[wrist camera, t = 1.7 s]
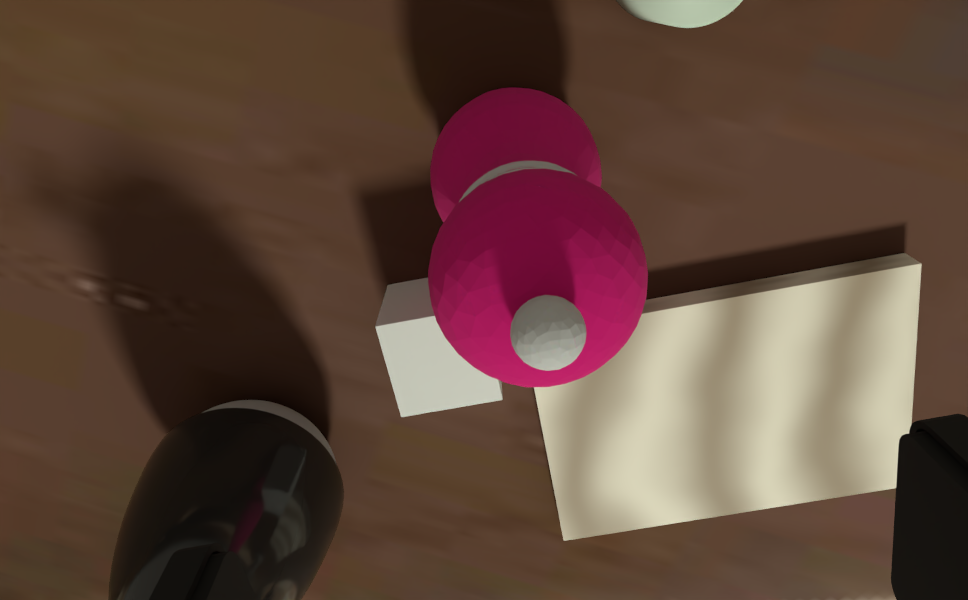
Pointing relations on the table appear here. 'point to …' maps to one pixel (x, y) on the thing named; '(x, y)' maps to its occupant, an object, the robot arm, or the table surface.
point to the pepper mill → (530, 243)
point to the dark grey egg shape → (234, 500)
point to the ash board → (740, 401)
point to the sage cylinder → (680, 11)
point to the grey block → (426, 356)
